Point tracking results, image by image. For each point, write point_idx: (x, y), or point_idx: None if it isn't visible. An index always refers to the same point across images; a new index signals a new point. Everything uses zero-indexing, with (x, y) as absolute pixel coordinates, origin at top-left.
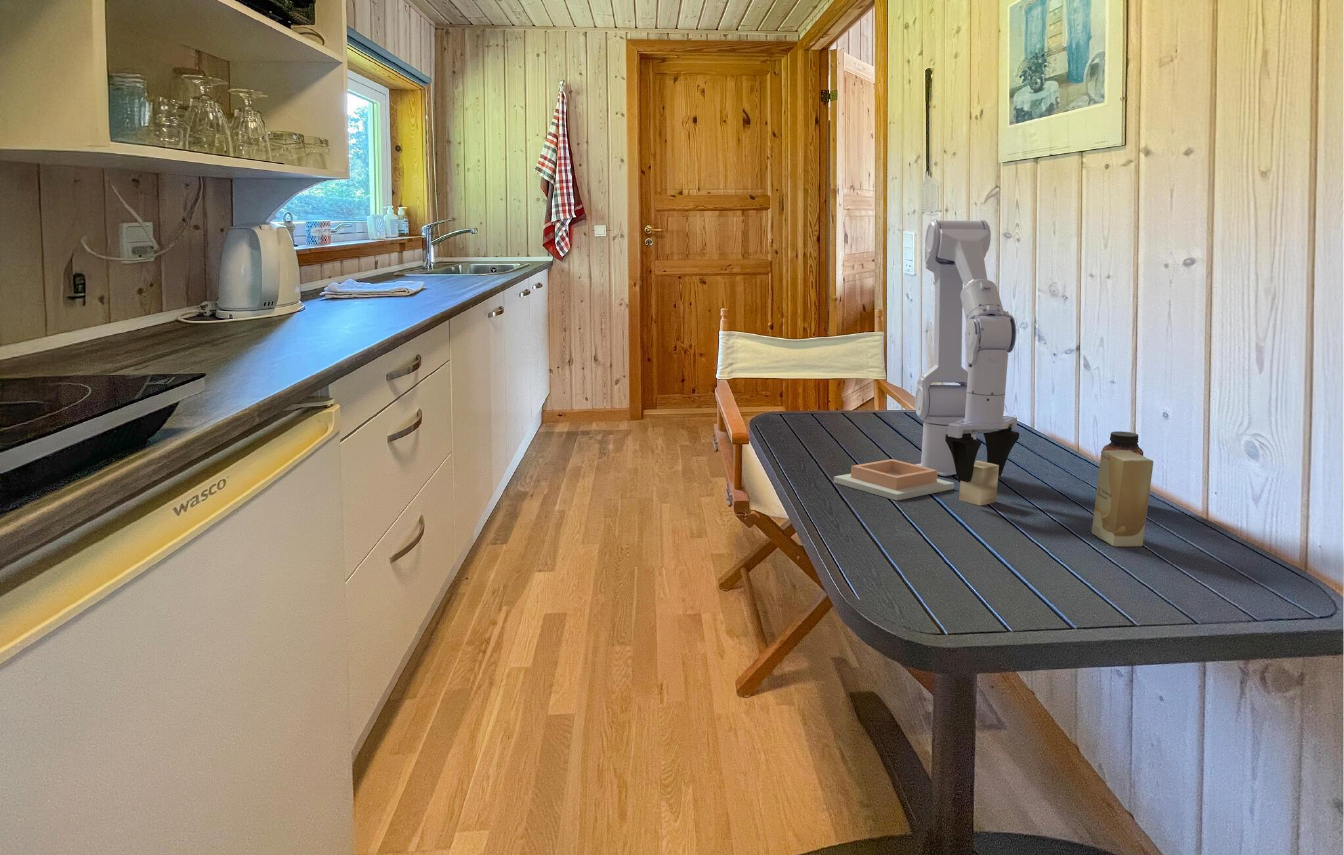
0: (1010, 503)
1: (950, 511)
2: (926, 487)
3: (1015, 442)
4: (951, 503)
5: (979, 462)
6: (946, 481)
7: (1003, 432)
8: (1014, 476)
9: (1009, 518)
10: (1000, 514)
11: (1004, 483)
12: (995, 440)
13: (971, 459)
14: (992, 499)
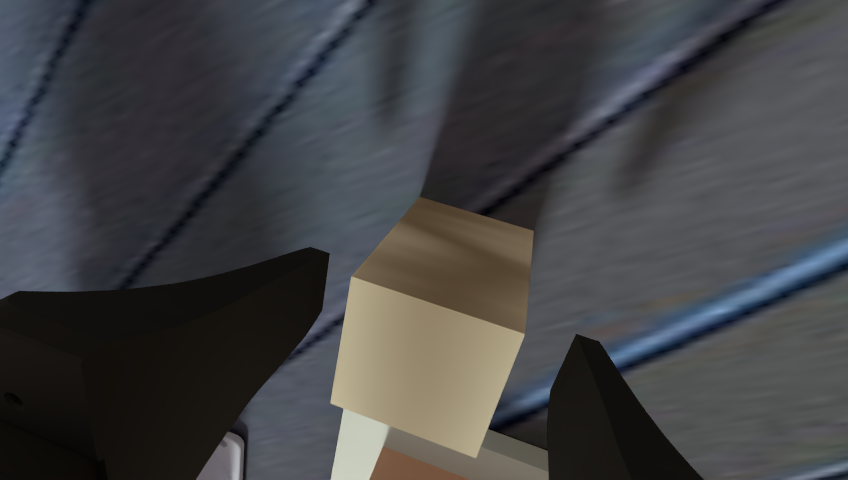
0: (396, 135)
1: (740, 301)
2: (491, 460)
3: (83, 292)
4: (582, 334)
5: (372, 386)
6: (347, 422)
7: (88, 451)
8: (40, 265)
9: (708, 15)
10: (645, 91)
11: (142, 263)
12: (178, 434)
13: (667, 450)
14: (443, 209)
